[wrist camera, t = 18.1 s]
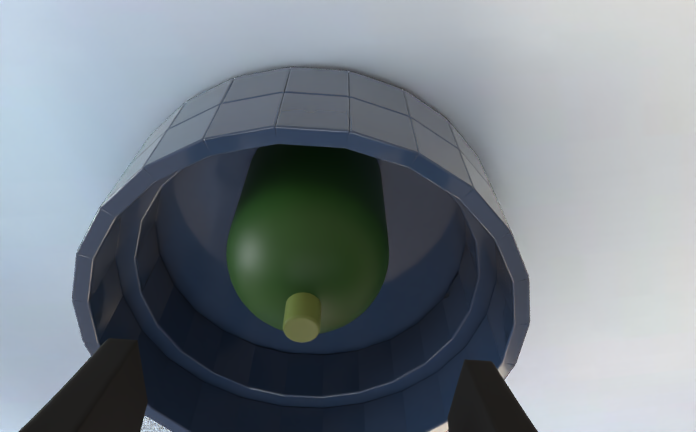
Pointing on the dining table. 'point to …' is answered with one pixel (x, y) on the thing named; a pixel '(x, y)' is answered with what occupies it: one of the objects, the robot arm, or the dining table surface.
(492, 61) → the dining table surface
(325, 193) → the green pepper
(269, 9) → the dining table surface
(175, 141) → the shallow round dish
